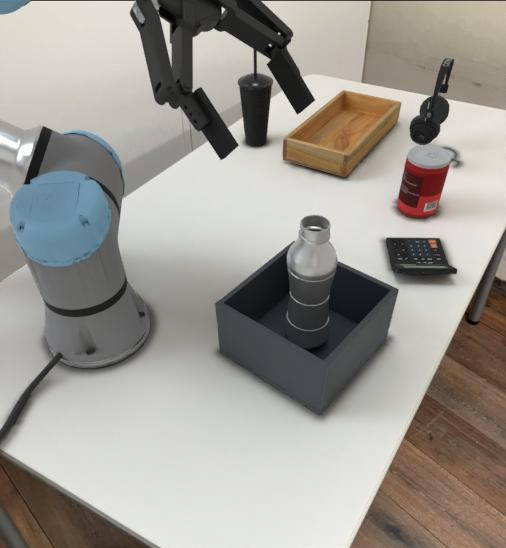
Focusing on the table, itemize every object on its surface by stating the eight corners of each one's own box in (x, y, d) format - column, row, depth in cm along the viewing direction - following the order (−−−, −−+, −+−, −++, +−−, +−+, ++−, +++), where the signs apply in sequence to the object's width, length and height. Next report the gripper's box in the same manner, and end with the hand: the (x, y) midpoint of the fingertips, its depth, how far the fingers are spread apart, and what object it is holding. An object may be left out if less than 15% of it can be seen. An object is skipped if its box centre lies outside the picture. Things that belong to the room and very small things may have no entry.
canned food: (440, 201, 101) (455, 148, 92) (432, 223, 96) (447, 169, 88) (401, 193, 103) (413, 140, 95) (391, 214, 98) (403, 160, 90)
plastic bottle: (304, 362, 72) (314, 247, 57) (274, 334, 76) (276, 220, 61) (337, 341, 75) (355, 226, 60) (307, 315, 78) (316, 201, 64)
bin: (319, 415, 67) (325, 367, 60) (219, 352, 75) (214, 303, 67) (386, 338, 76) (399, 289, 69) (291, 289, 84) (294, 240, 77)
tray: (340, 110, 130) (343, 87, 125) (397, 124, 124) (402, 100, 120) (281, 163, 112) (282, 138, 108) (345, 181, 106) (348, 155, 102)
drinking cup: (269, 151, 116) (270, 55, 101) (236, 148, 117) (232, 53, 102) (275, 135, 121) (276, 42, 106) (243, 133, 122) (240, 40, 107)
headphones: (451, 182, 105) (481, 80, 91) (397, 171, 109) (418, 71, 94) (464, 150, 115) (494, 53, 100) (414, 140, 118) (436, 45, 103)
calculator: (438, 241, 92) (442, 227, 90) (452, 284, 84) (458, 270, 82) (385, 241, 92) (388, 227, 90) (395, 284, 84) (398, 269, 82)
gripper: (217, -51, 61) (313, 108, 65) (41, -4, 48) (175, 191, 52) (251, -107, 55) (354, 73, 59) (58, -69, 42) (209, 158, 46)
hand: (270, 129), depth 56 cm, fingers open, 13 cm apart
